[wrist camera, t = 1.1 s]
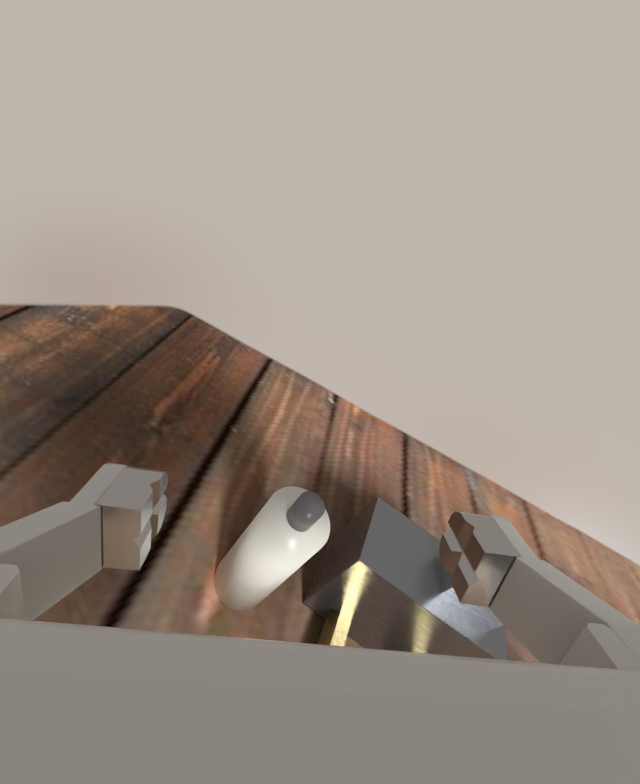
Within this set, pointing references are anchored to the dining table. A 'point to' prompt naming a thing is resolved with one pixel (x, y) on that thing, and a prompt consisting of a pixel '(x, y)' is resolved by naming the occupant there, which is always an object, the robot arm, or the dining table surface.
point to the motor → (396, 592)
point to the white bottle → (272, 547)
